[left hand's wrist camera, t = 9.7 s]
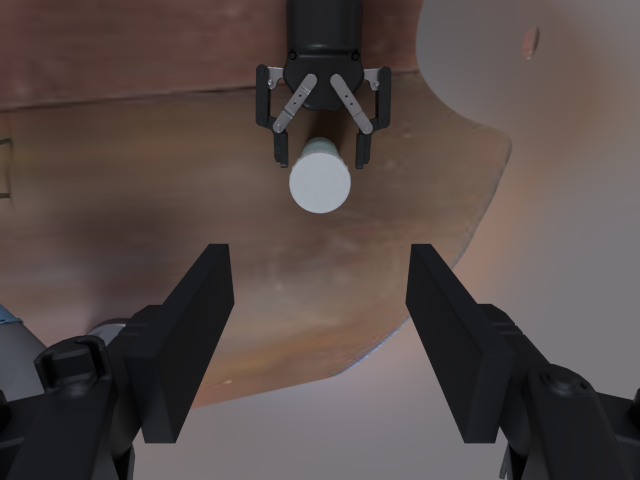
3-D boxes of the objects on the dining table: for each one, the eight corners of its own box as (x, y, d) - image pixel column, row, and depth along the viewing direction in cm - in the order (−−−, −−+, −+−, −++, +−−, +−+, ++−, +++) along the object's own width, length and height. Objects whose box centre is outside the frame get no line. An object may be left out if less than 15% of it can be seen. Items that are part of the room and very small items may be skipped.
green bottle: (342, 144, 45) (354, 166, 30) (330, 177, 47) (335, 215, 31) (309, 131, 45) (303, 147, 29) (297, 166, 46) (286, 198, 31)
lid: (358, 160, 31) (361, 164, 29) (337, 214, 33) (338, 222, 31) (301, 139, 31) (300, 142, 29) (283, 196, 33) (280, 202, 31)
